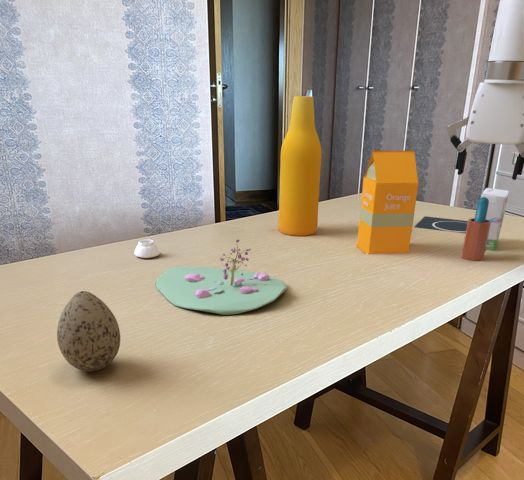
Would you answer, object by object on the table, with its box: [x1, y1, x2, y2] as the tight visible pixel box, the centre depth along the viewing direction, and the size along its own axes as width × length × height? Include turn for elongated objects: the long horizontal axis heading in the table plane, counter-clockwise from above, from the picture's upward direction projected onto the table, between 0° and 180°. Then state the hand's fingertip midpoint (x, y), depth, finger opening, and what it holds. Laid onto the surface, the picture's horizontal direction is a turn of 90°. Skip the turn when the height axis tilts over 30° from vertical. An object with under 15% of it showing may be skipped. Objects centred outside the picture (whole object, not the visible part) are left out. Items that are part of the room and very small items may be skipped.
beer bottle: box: [277, 95, 323, 237], centre depth 119 cm, size 9×9×29 cm
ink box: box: [480, 187, 510, 252], centre depth 114 cm, size 8×5×12 cm, turn 154°
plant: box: [155, 239, 288, 316], centre depth 88 cm, size 25×21×9 cm
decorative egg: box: [56, 290, 121, 372], centre depth 63 cm, size 7×7×10 cm
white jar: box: [133, 238, 161, 259], centre depth 106 cm, size 5×3×5 cm
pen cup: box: [461, 217, 491, 262], centre depth 105 cm, size 4×4×8 cm
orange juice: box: [356, 150, 420, 255], centre depth 108 cm, size 8×9×20 cm
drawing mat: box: [414, 215, 468, 235], centre depth 131 cm, size 18×16×1 cm
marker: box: [474, 197, 489, 223], centre depth 104 cm, size 2×2×12 cm
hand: (486, 176), depth 100 cm, fingers open, 9 cm apart
